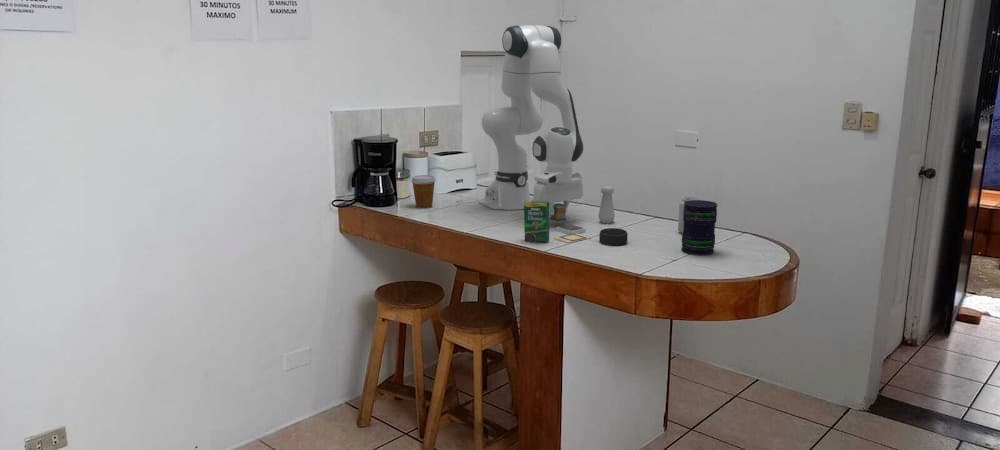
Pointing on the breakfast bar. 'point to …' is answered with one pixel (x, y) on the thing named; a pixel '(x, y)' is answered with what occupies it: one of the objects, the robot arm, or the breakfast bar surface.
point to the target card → (572, 238)
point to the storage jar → (699, 227)
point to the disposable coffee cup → (423, 190)
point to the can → (681, 209)
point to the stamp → (559, 212)
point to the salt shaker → (606, 206)
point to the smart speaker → (613, 236)
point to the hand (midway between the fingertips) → (558, 213)
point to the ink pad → (570, 229)
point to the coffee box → (536, 221)
